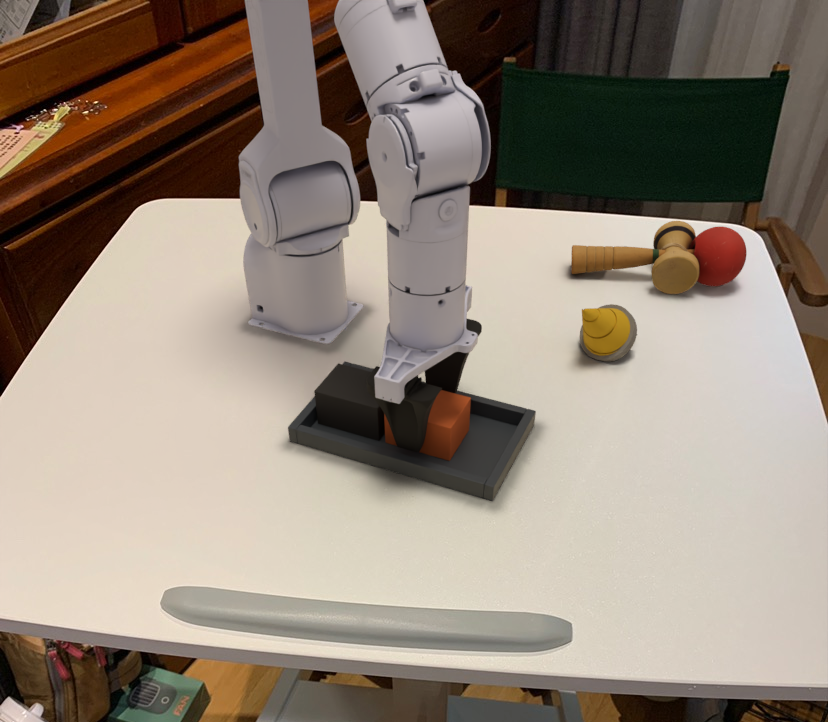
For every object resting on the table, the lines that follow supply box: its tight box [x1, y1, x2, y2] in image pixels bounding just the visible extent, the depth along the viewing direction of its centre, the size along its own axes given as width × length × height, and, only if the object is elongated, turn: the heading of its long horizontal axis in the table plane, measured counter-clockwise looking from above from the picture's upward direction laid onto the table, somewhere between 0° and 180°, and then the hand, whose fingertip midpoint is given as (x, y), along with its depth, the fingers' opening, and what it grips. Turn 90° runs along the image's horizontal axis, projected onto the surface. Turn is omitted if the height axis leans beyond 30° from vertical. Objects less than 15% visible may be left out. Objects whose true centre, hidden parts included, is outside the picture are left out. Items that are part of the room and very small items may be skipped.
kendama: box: [570, 220, 747, 295], centre depth 88 cm, size 8×6×18 cm
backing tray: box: [287, 360, 537, 502], centre depth 71 cm, size 19×11×2 cm, turn 66°
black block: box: [313, 362, 385, 441], centre depth 72 cm, size 6×4×4 cm
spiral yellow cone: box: [579, 303, 638, 363], centre depth 77 cm, size 5×5×10 cm
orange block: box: [384, 390, 471, 461], centre depth 70 cm, size 6×4×4 cm
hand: (425, 422), depth 70 cm, fingers open, 6 cm apart
